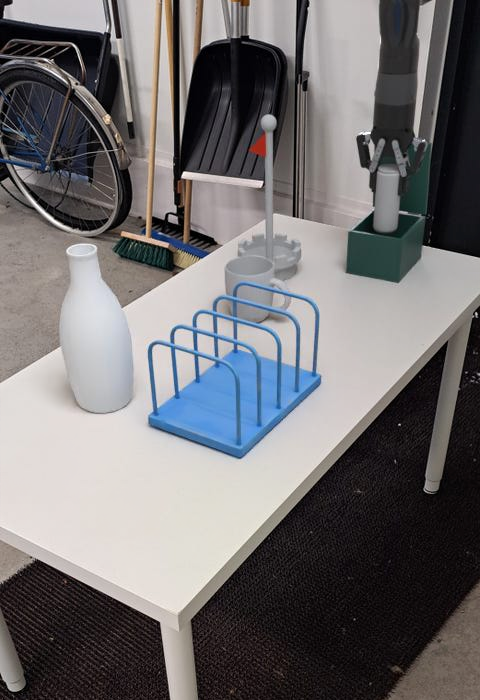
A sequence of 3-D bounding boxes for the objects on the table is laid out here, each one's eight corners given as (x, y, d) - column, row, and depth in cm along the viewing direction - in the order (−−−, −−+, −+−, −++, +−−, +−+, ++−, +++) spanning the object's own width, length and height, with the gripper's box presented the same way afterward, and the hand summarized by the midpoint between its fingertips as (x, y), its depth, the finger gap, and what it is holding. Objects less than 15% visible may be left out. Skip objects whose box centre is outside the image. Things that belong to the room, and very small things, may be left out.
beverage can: (396, 225, 172) (402, 163, 164) (397, 234, 168) (403, 172, 161) (372, 225, 173) (377, 163, 165) (373, 234, 169) (377, 172, 161)
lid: (430, 144, 162) (439, 133, 165) (374, 137, 167) (384, 126, 170) (425, 215, 173) (433, 203, 176) (372, 206, 177) (381, 195, 180)
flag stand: (269, 252, 183) (268, 100, 164) (314, 269, 176) (318, 113, 156) (225, 271, 177) (218, 115, 157) (269, 290, 169) (268, 129, 150)
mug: (218, 321, 160) (216, 270, 153) (239, 302, 166) (238, 252, 159) (280, 334, 155) (280, 282, 149) (299, 314, 161) (300, 263, 155)
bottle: (111, 425, 135) (87, 271, 118) (56, 406, 139) (26, 256, 123) (152, 392, 142) (135, 242, 125) (99, 375, 146) (76, 229, 130)
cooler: (398, 282, 170) (402, 240, 165) (345, 272, 174) (348, 230, 169) (421, 257, 179) (425, 216, 173) (370, 248, 183) (373, 208, 178)
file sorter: (240, 460, 127) (237, 369, 116) (147, 427, 134) (137, 338, 124) (321, 383, 142) (325, 297, 132) (234, 357, 150) (231, 274, 139)
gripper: (440, 96, 154) (429, 191, 166) (366, 88, 160) (360, 182, 171) (426, 106, 149) (416, 204, 161) (350, 99, 155) (346, 194, 166)
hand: (388, 192), depth 166 cm, fingers closed on beverage can, 5 cm apart
